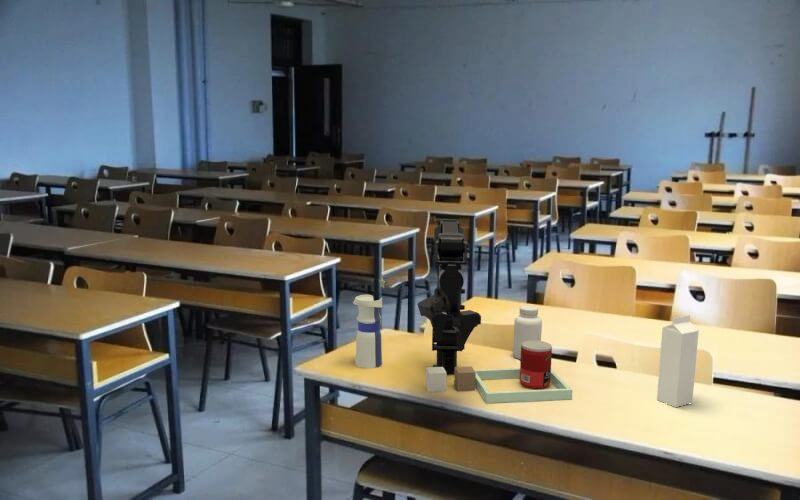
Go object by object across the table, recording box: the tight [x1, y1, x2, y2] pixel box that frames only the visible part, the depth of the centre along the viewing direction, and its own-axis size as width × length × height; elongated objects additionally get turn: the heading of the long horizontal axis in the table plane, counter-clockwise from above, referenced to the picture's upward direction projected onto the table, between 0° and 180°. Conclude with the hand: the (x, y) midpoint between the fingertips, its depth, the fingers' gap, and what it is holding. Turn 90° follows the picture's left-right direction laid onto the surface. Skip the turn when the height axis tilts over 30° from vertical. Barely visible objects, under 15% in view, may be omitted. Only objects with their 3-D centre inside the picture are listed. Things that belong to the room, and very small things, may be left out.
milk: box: [656, 315, 699, 408], centre depth 178 cm, size 6×6×22 cm
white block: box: [425, 366, 447, 393], centre depth 187 cm, size 4×4×5 cm
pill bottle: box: [512, 305, 543, 360], centre depth 212 cm, size 8×8×15 cm
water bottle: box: [352, 276, 386, 369], centre depth 204 cm, size 8×9×25 cm
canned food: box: [519, 340, 553, 390], centre depth 190 cm, size 8×8×11 cm
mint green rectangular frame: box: [474, 367, 573, 404], centre depth 188 cm, size 17×22×2 cm
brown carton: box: [453, 366, 476, 392], centre depth 188 cm, size 4×4×5 cm
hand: (448, 345), depth 182 cm, fingers open, 9 cm apart
